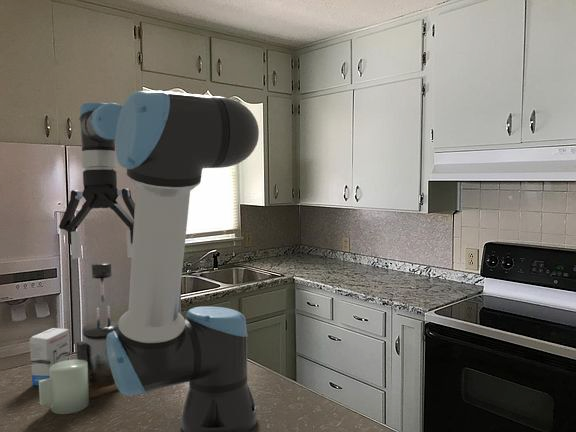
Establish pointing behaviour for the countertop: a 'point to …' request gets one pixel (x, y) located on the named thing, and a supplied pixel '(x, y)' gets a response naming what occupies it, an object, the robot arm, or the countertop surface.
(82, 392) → the sage mug
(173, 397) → the countertop surface
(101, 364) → the glass french press
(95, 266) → the plunger
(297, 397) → the countertop surface
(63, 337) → the ink box
